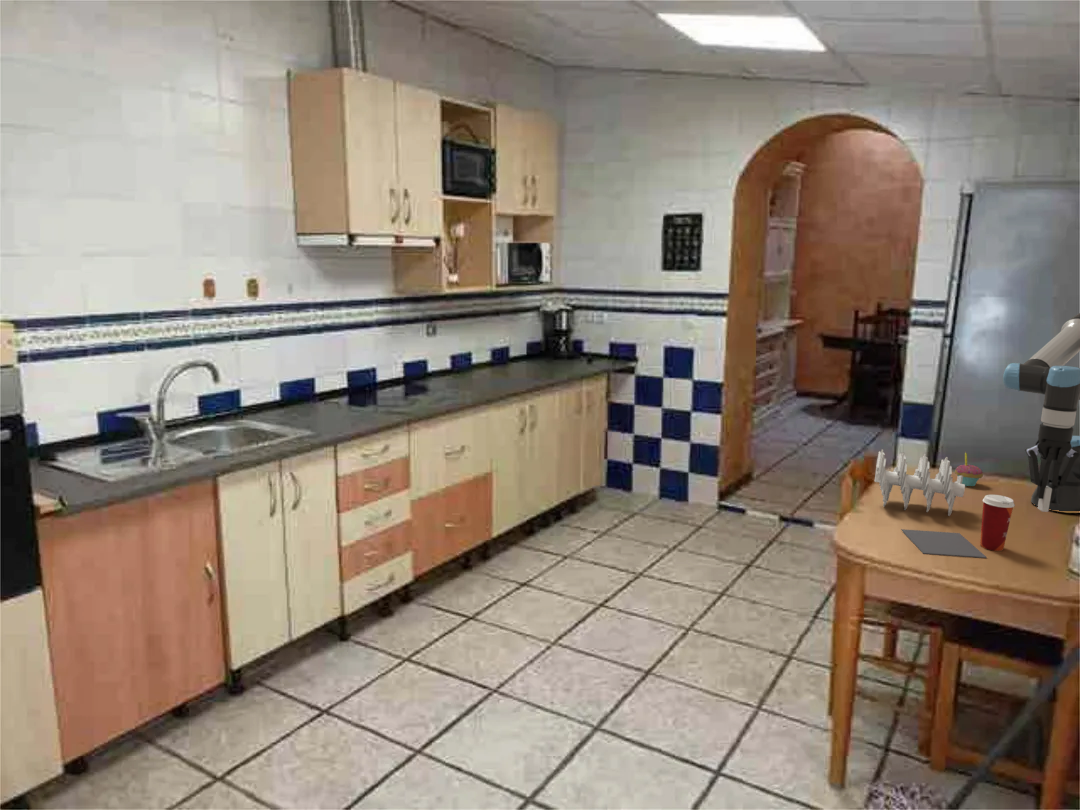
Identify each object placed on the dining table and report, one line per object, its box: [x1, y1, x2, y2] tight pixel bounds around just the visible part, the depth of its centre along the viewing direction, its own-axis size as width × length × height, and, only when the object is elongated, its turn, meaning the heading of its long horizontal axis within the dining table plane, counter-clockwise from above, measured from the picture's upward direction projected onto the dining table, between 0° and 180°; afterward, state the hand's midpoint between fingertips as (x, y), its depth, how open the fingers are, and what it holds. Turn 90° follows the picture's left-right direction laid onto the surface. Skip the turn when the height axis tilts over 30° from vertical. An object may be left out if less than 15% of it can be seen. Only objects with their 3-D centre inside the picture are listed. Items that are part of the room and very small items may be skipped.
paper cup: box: [979, 494, 1015, 552], centre depth 218 cm, size 8×8×14 cm
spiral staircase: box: [874, 448, 966, 517], centre depth 247 cm, size 18×18×25 cm
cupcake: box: [954, 450, 984, 487], centre depth 276 cm, size 9×8×12 cm
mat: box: [900, 528, 987, 559], centre depth 220 cm, size 16×18×1 cm
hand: (1042, 510), depth 216 cm, fingers closed
